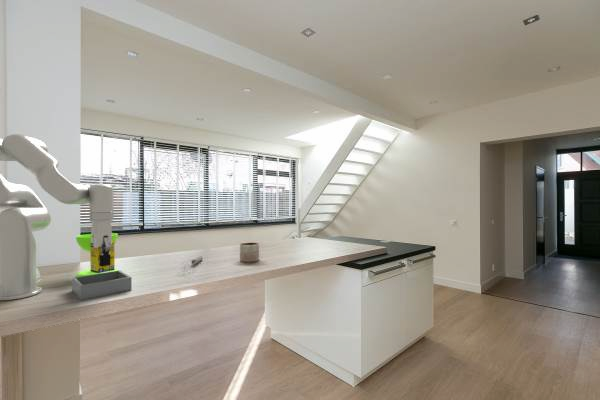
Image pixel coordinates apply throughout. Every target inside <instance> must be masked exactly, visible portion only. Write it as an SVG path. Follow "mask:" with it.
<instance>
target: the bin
mask: <svg viewBox="0 0 600 400" xmlns="http://www.w3.org/2000/svg"><path fill="white" fill-rule="evenodd" d="M117 270H118V271H111V272H105V273H99V274H92V275H86V276H79V277H76V276H75V277H72V278H71V289H72V292H73V294H74V295H75V296H76V297H77V298H78V300H79V301H87V300H92V299H95V298H101V297H105V296H106V297H107V296H110V295H115V294H121V293H124V292H125V291H126V292H129V291H132V276H130V275H128V274H127V273H126V272H123V271H122V270H119V269H117Z"/></svg>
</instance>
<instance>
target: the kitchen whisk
mask: <svg viewBox="0 0 600 400" xmlns="http://www.w3.org/2000/svg"><path fill="white" fill-rule="evenodd" d="M186 260H187V258H186V259H184V261H183V262H181V263H180V264H179V265H180V266H181V268H180V269H179V270H185V271H186V272H187V273H190V272H191V271H190V272H189V271H188V270H189V268H187V267H191V266H194V268H196V267H197V264H198V263H200V262H201V261H203V256H202V255H199V256H197V257H195V258H193V259H192V258H191V259H190V258H188V261H186ZM190 262H191V263H190ZM185 263H186V264H185ZM182 264H185V265H182ZM194 268H191V270H194ZM185 271H183V274H184V273H185ZM185 274H186V273H185Z"/></svg>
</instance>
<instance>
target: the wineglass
mask: <svg viewBox="0 0 600 400" xmlns="http://www.w3.org/2000/svg"><path fill="white" fill-rule="evenodd" d="M118 236H119V234H118V233H114V232H112V242H114V245H116V242H117V240H118ZM75 239H76V242H77V244H78V246H80V248H81V249H82V250H84V251H86V252H89V253H90V243H91V233H87V234H80V235H76V236H75ZM118 270H119V269H117V268H115V270H112V271H118ZM107 272H111V271H107ZM102 273H105V272H102ZM92 274H99V273H95V272H91V268H90V269H86V270H82V271H80V272H78V273H76V276H75V277H79V276H86V275H92Z"/></svg>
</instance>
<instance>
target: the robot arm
mask: <svg viewBox="0 0 600 400" xmlns="http://www.w3.org/2000/svg"><path fill="white" fill-rule="evenodd" d="M1 161H2V162H16V163H19V164H20V165H21V166H22V167H24V168H25V169H26V170H27V171H28V172H30V173H31V174H33V175H34V176H35V179H36V182H37V183H38V184H39V186H40V187H41V189H43V190H44V192H46V193H47V194H49V196H50V197H53V198H54V199H55V200H56V201H58V202H60V203H63V204H66V205H88V204H89V205H88V206H89V222H92V223H91V228H90V229H91V232H90V234H91V243H93V244H94V247H95V248H99V247H100V253H101V255H100V266H108V265H110V246H111V245H112V233H113V232H112V222H114V220H115V218H114V217H115V216H114V213H115V212H114V210H115V209H114V188H113V186H112V185H110V184H91V185H89V184H80V183H72V182H71V181H70V180H69V179H67V178H66V177H65V176H63V175H62V174H61V173H60V172H59V171H58V168H59V162H58V160H57V159H56V158H54V157H53V156H52V155H51V154H49V149H48V146H47V145H46V144H45V143H44V142H43V141H41V140H39V139H37V138H34V137H32V136H27V135H24V134H19V133H18V134H17V133H14V134H9V135H7V136H5V137H4V138H1V137H0V162H1ZM0 209H1V210H2V209H3V210H2V211H1V212H0V301H12V300H13V301H14V300H18V299H23V298H27V297H33V296H35V295H38V294H40V293H41V292H42V291H43V289H42V287H41V286H37V242H36V239H35V236H34V234H33V233H35V232H39V231H42V230H45V229H47V227H49V226H50V224H51V222H52V221H51V220H52V217H51V214H50V212H49V210H48V209H47V207H46V206H45V204H43V202H42V201H41V199H40V198H39V197H38V195H37V193H35V192H34V190H33V189H31V188H30V187H29V186H27V185H25V184H22V183H16V182H15V183H14V182H10V181H8V180H7V179H6V178H5V176H4V175H3V174H2V173H1V172H0ZM109 243H110V244H109ZM102 245H105V247H102Z"/></svg>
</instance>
